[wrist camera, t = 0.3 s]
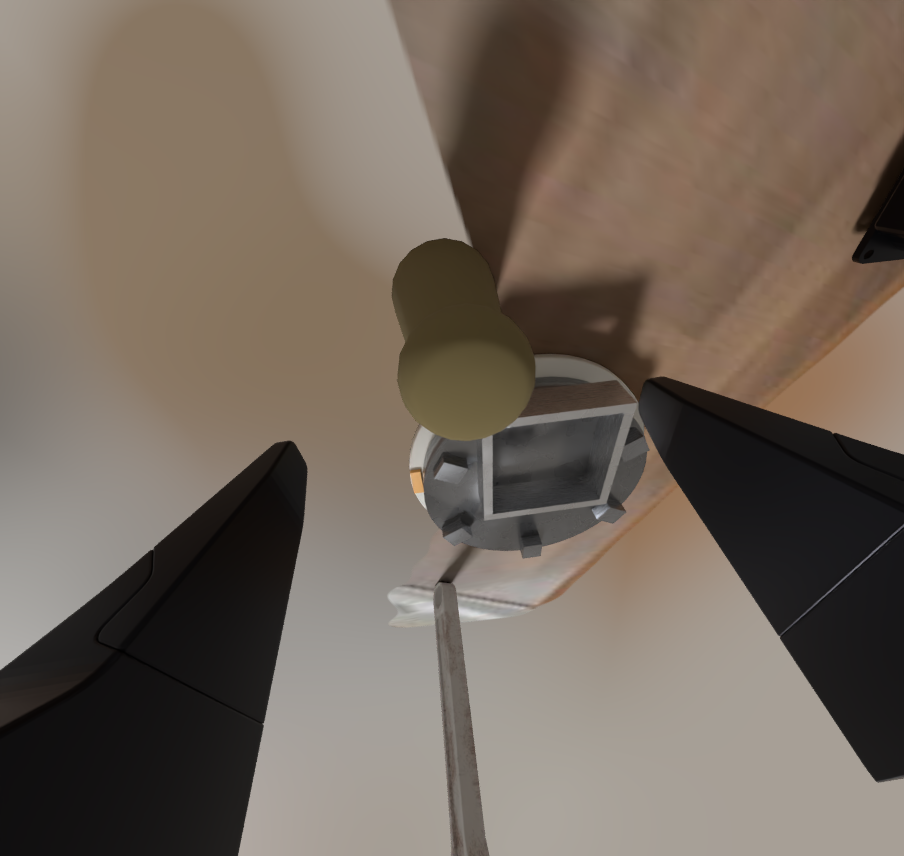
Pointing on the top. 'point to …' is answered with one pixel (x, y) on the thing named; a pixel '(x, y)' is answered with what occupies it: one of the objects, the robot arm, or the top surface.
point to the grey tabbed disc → (539, 470)
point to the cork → (458, 344)
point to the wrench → (457, 730)
